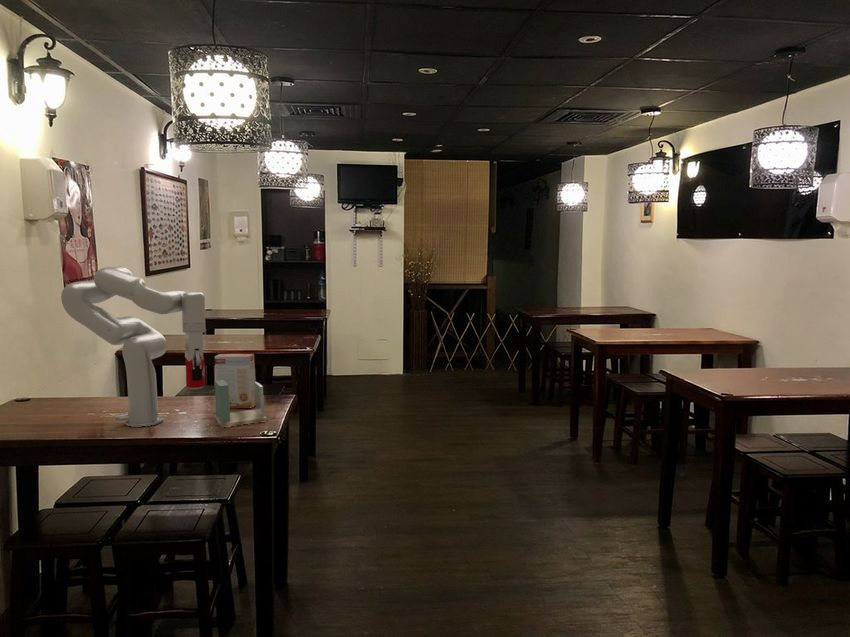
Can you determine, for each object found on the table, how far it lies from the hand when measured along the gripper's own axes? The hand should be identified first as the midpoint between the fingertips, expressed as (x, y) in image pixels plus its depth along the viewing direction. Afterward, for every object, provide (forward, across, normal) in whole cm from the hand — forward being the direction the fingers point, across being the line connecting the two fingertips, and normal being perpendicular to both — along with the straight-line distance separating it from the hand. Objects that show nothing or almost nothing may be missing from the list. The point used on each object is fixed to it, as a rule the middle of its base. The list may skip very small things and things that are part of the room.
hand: (195, 377), depth 229 cm
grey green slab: (+15, +2, +9) cm, 18 cm away
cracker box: (+17, -18, +18) cm, 31 cm away
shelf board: (+17, +2, +15) cm, 22 cm away
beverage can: (+4, 0, 0) cm, 4 cm away
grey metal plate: (+15, +2, +22) cm, 27 cm away
